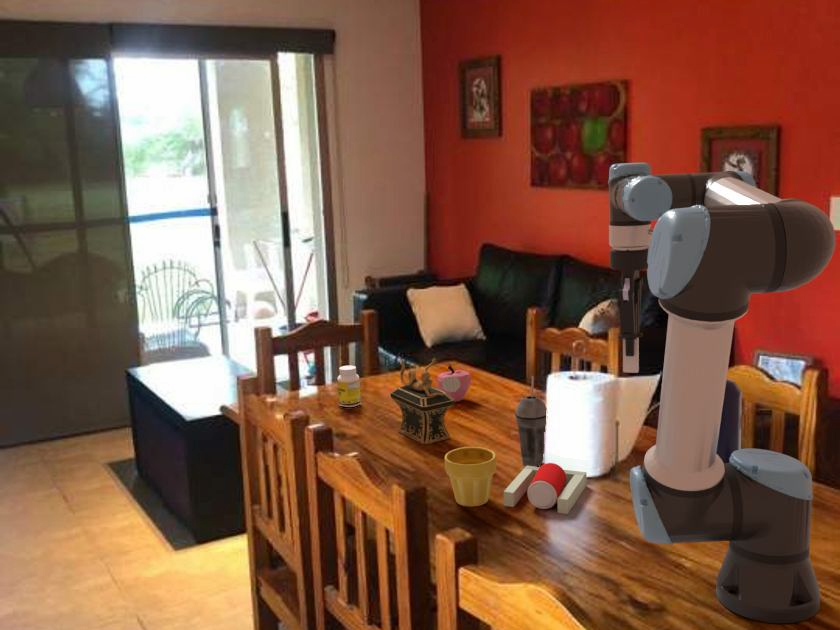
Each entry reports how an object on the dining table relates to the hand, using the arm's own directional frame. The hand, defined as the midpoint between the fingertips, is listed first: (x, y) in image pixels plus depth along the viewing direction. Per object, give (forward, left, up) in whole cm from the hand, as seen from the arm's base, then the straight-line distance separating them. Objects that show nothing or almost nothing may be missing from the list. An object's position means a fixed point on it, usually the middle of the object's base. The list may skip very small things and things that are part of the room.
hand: (630, 371), depth 170 cm
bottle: (+26, -14, -28) cm, 40 cm away
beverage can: (-7, +16, -25) cm, 30 cm away
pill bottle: (+46, +87, -28) cm, 103 cm away
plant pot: (-6, +31, -28) cm, 42 cm away
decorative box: (+30, +58, -28) cm, 71 cm away
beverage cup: (+18, +25, -28) cm, 42 cm away
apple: (+58, +60, -28) cm, 88 cm away
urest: (+1, +17, -28) cm, 33 cm away
